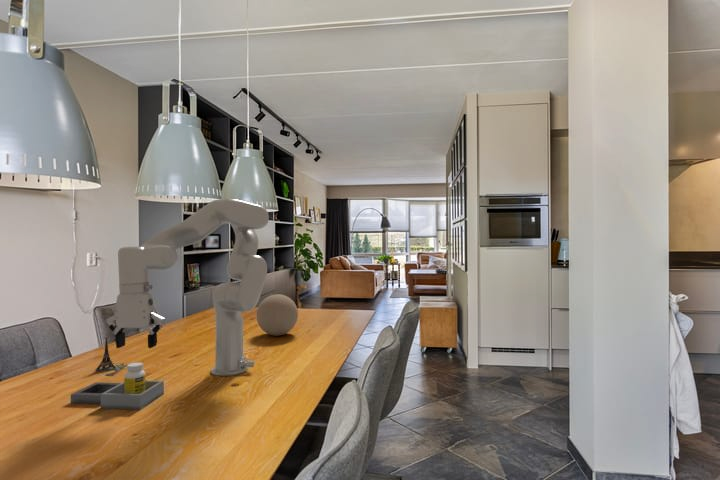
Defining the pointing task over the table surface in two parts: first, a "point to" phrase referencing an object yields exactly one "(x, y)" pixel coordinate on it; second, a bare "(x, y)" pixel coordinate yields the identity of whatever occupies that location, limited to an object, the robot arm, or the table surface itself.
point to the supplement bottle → (134, 379)
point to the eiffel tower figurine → (108, 363)
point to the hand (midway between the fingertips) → (136, 346)
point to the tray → (131, 396)
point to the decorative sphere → (277, 314)
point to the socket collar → (91, 393)
